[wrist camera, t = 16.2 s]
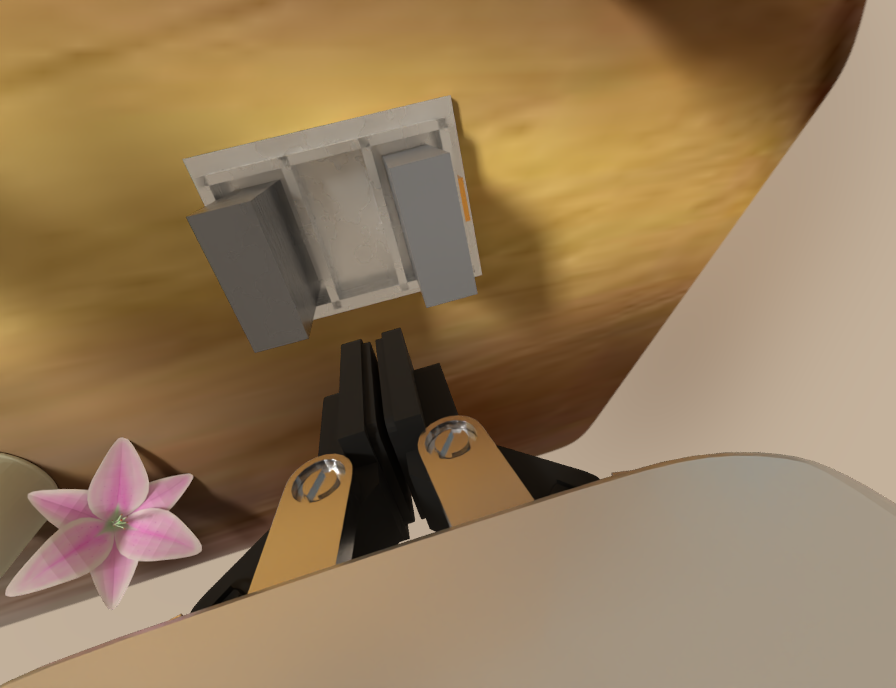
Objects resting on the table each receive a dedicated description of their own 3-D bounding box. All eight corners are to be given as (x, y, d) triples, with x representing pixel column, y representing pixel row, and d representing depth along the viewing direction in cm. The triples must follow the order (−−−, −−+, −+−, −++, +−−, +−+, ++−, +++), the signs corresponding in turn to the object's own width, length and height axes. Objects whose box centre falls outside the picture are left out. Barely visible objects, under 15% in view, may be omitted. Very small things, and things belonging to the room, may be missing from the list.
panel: (381, 155, 29) (389, 168, 22) (426, 144, 30) (449, 152, 22) (411, 263, 33) (426, 308, 25) (450, 253, 33) (477, 293, 26)
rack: (185, 158, 28) (110, 174, 20) (448, 95, 29) (484, 85, 21) (267, 329, 34) (236, 396, 26) (480, 272, 35) (517, 319, 27)
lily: (227, 512, 44) (221, 555, 35) (100, 589, 39) (57, 660, 31) (163, 413, 41) (140, 432, 33) (21, 483, 37) (-50, 527, 28)
